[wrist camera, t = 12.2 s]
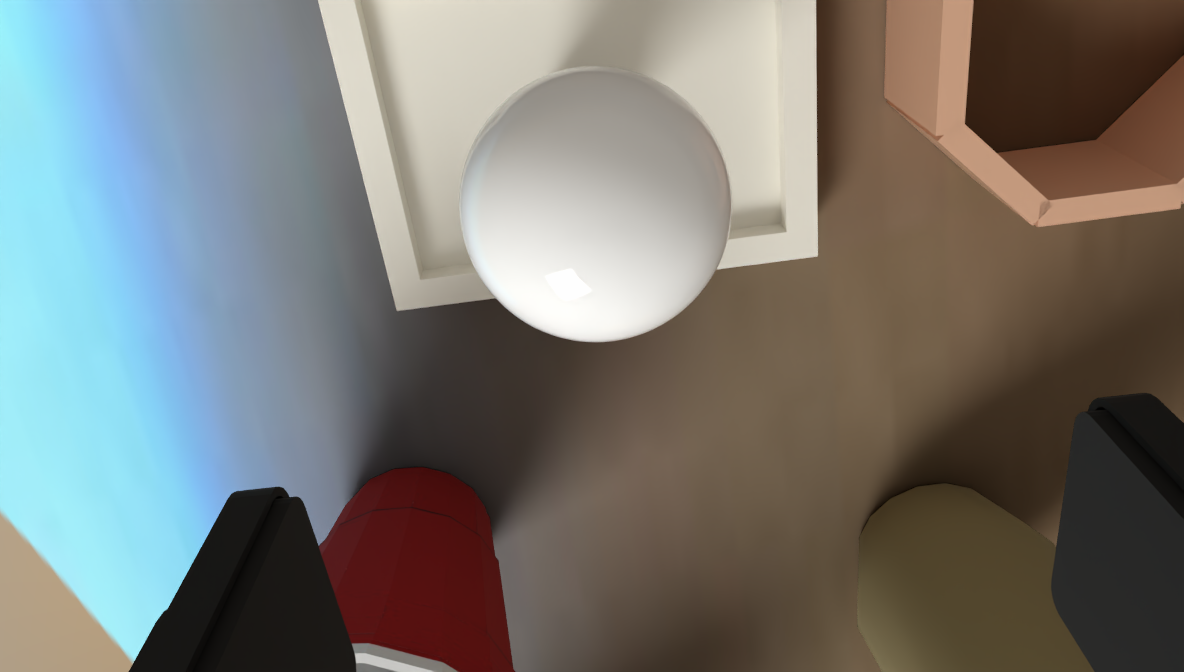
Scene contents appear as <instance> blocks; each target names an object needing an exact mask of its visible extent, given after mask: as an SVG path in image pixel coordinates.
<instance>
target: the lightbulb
mask: <svg viewBox="0 0 1184 672" xmlns="http://www.w3.org/2000/svg"><path fill="white" fill-rule="evenodd" d="M459 217H460V225H461V231H462V235H463V239H464V243H465V246H466V249H467V252H468V255H469V257H470V259H471V262H472V264H473V266H474V268H475V270H476V272H477V273H478V275H479V277H480V278H481V280H482V282H483V283H484V284H485V286H486V287H487V288H488V290H489V291H490V292H491V293H492V295H493V296H494V297H495V298H496V299H497V300H498V301H499V302H500V303H501V304H502V305H503V306H504V307H505V308H506V309H507V310H508V311H510V312H511V313H512V314H513V315H515V316H516V317H518V318H519V319H520V320H522V321H523V322H525V323H527V324H529V325H530V326H532V327H534V328H536V329H538V330H540V331H543V332H545V333H548V334H550V335H553V336H557V337H560V338H564V339H568V340H574V341H581V342H610V341H617V340H623V339H627V338H631V337H634V336H638V335H641V334H643V333H646V332H648V331H651V330H653V329H655V328H657V327H659V326H661V325H663V324H664V323H666V322H668V321H669V320H671V319H672V318H674V317H675V316H676V315H678V314H679V313H680V312H682V311H683V310H684V309H685V308H686V307H687V306H689V305H690V304H691V303H692V302H693V301H694V300H695V299H696V297H697V296H698V295H699V294H700V293H701V292H702V290H703V289H704V288H705V287H706V285H707V284H708V282H709V281H710V279H711V278H712V276H713V274H714V273H715V271H716V269H717V267H718V265H719V263H720V261H721V259H722V256H723V254H724V251H725V248H726V245H727V241H728V238H729V233H730V228H731V221H732V188H731V181H730V175H729V171H728V167H727V164H726V160H725V157H724V155H723V152H722V150H721V147H720V145H719V143H718V141H717V139H716V137H715V135H714V133H713V132H712V130H711V129H710V127H709V126H708V124H707V123H706V121H705V120H704V119H703V117H702V116H701V115H700V114H699V113H698V111H697V110H696V109H695V108H694V107H693V106H692V105H691V104H690V103H689V102H688V101H687V100H686V99H684V98H683V97H682V96H681V95H679V94H678V93H677V92H675V91H674V90H673V89H671V88H670V87H668V86H666V85H665V84H663V83H661V82H659V81H658V80H655V79H653V78H651V77H649V76H646V75H644V74H641V73H638V72H635V71H632V70H628V69H624V68H618V67H611V66H581V67H573V68H568V69H564V70H560V71H556V72H553V73H550V74H548V75H545V76H543V77H540V78H538V79H536V80H534V81H532V82H530V83H528V84H527V85H525V86H523V87H522V88H520V89H519V90H517V91H516V92H515V93H513V94H512V95H511V96H510V97H508V98H507V99H506V100H505V101H504V102H503V103H502V104H501V105H500V106H499V107H498V108H497V109H496V110H495V111H494V112H493V113H492V114H491V116H490V117H489V118H488V119H487V121H486V122H485V123H484V125H483V126H482V128H481V129H480V131H479V133H478V134H477V136H476V138H475V140H474V142H473V144H472V146H471V148H470V150H469V153H468V156H467V158H466V161H465V165H464V168H463V172H462V177H461V182H460V189H459Z"/></svg>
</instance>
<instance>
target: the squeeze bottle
mask: <svg viewBox="0 0 1184 672" xmlns="http://www.w3.org/2000/svg"><path fill="white" fill-rule="evenodd" d="M1055 552H1056V547H1055V545H1054V543H1052V542H1051V541H1050V540H1048V539H1047V538H1045V537H1044V536H1043V535H1041V534H1040V533H1038V532H1037V531H1036V530H1034V529H1033V528H1031V527H1030V526H1029V525H1027V524H1026V523H1024V522H1023V521H1021V520H1019V519H1018V518H1016V517H1015V516H1013V515H1012V514H1010V513H1008V512H1007V511H1005V510H1004V509H1002V508H1001V507H999V506H998V505H996V504H994V503H993V502H991V501H990V500H988V499H987V498H985V497H984V496H982V495H980V494H979V493H977V492H976V491H974V490H973V489H971V488H967V487H962V486H957V485H952V484H947V483H942V484H934V485H926V486H919V487H915V488H913V489H911V490H908V491H906V492H904V493H902V494H900V495H897V496H895V497H893V498H891V499H889V500H888V501H887V502H886V503H885V504H884V505H883V506H882V507H880V508H879V509H878V510H877V511H876V512H875V513H874V514H873V515H871V516H870V518H869V520H868V522H867V524H866V526H865V528H864V529H863V531H862V533H861V535H860V537H859V566H858V614H857V627H858V628H859V630H860V632H861V634H862V636H863V638H864V639H865V641H866V643H867V645H868V647H869V649H870V651H871V652H872V654H873V656H874V658H875V660H876V662H877V664H878V665H879V667H880V669H881V671H882V672H1094V670H1093V668H1092V667H1091V665H1090V664H1089V662H1088V660H1087V659H1086V657H1085V656H1084V654H1083V652H1082V651H1081V649H1080V648H1079V646H1078V644H1077V643H1076V641H1075V640H1074V638H1073V636H1072V635H1071V633H1070V632H1069V630H1068V628H1067V627H1066V625H1065V624H1064V622H1063V620H1062V619H1061V617H1060V616H1059V614H1058V612H1057V610H1056V607H1055V604H1054V601H1053V597H1052V591H1051V580H1052V573H1053V566H1054V559H1055Z"/></svg>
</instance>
